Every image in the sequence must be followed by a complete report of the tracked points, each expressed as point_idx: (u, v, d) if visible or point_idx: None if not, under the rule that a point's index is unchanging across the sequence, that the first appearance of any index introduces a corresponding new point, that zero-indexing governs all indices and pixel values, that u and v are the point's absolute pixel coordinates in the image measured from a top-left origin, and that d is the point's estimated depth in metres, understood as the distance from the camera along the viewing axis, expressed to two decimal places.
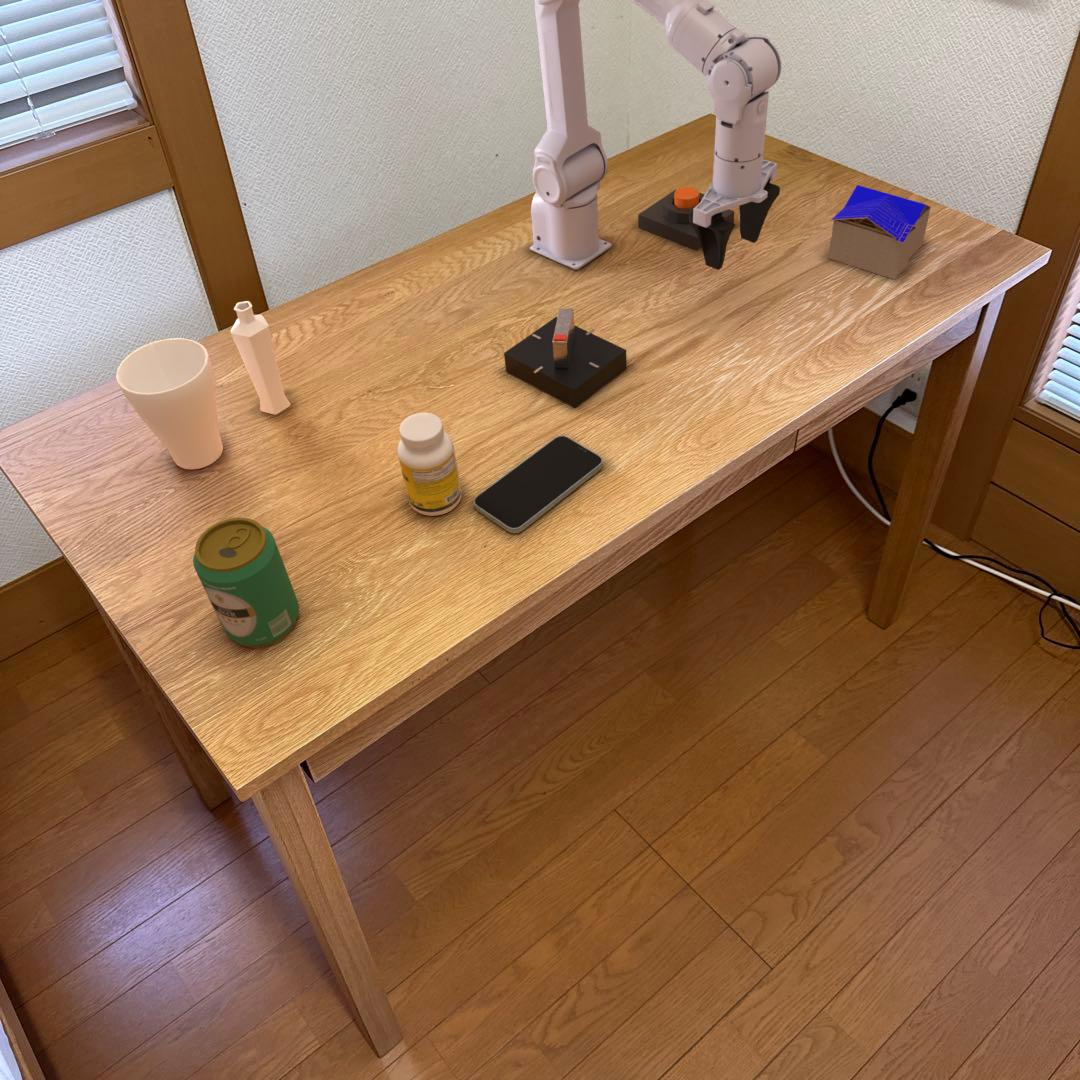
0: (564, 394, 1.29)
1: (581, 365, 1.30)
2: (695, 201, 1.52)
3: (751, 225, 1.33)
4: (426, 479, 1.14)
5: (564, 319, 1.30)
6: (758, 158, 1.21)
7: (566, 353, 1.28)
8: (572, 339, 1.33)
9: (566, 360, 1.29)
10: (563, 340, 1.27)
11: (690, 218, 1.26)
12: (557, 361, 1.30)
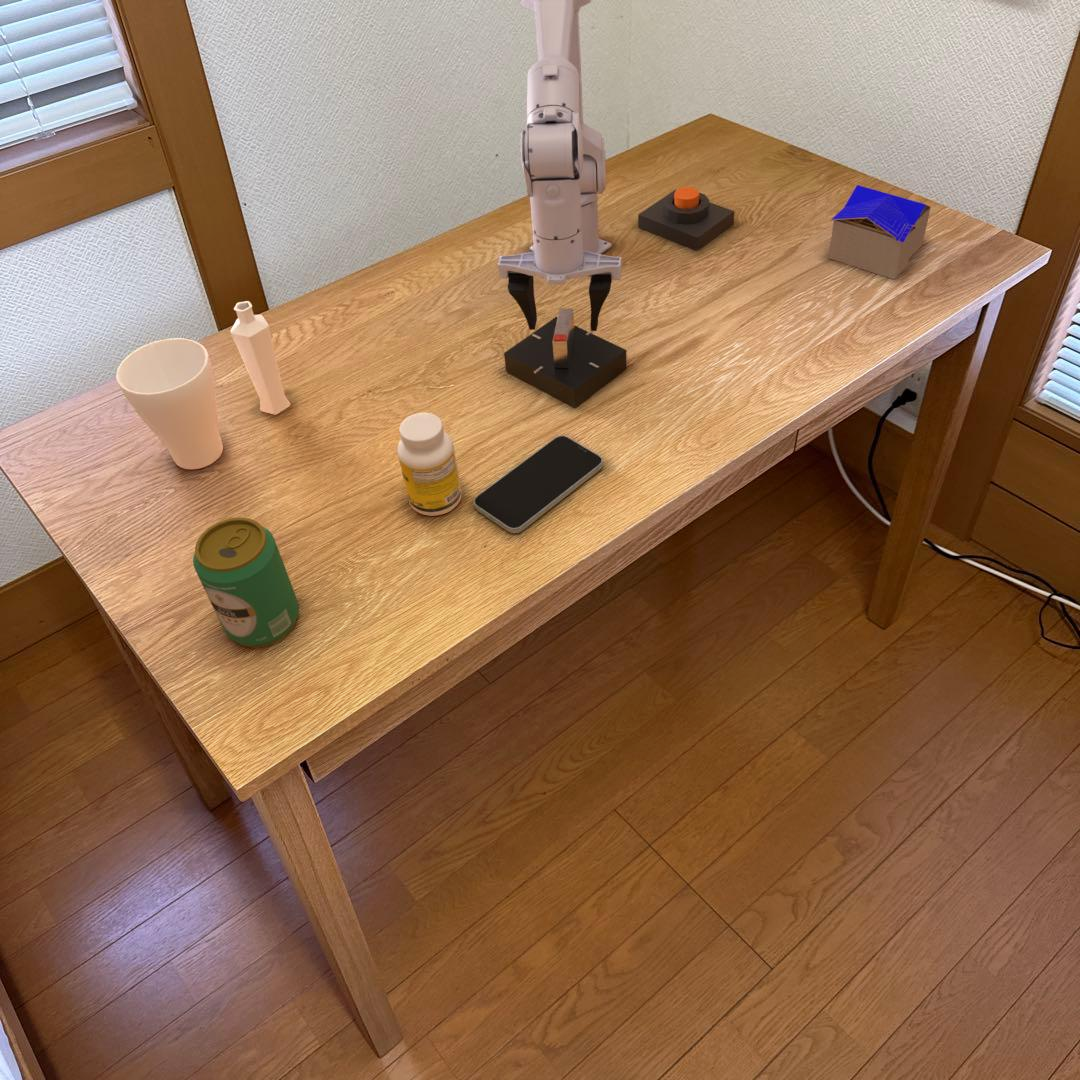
0: (564, 394, 1.29)
1: (581, 365, 1.30)
2: (695, 201, 1.52)
3: None
4: (426, 479, 1.14)
5: (564, 319, 1.30)
6: (553, 240, 1.18)
7: (566, 353, 1.28)
8: (572, 339, 1.33)
9: (566, 360, 1.29)
10: (563, 340, 1.27)
11: None
12: (557, 361, 1.30)
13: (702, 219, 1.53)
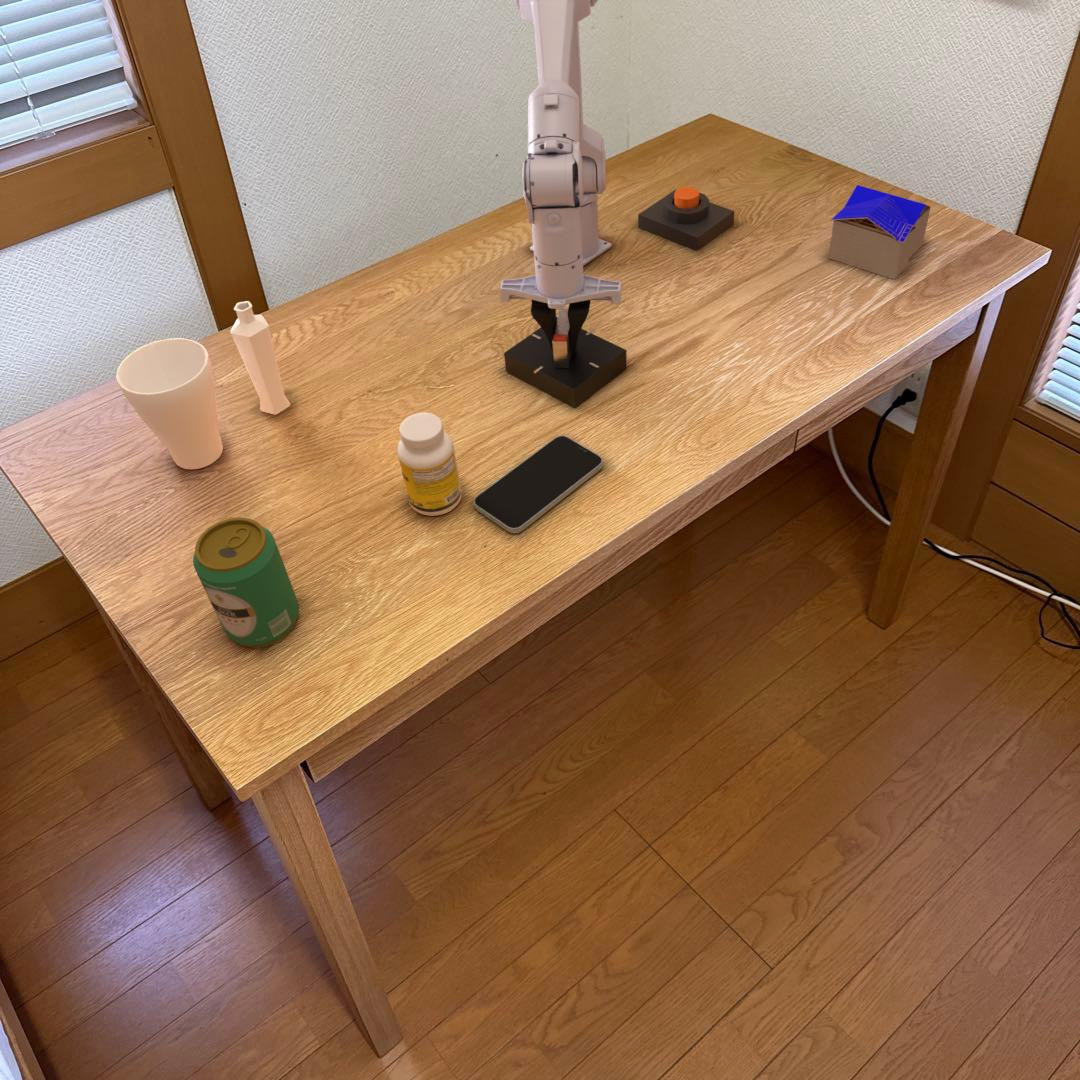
0: (564, 394, 1.29)
1: (581, 365, 1.30)
2: (695, 201, 1.52)
3: None
4: (426, 479, 1.14)
5: (564, 319, 1.30)
6: (554, 266, 1.20)
7: (566, 353, 1.28)
8: None
9: (566, 360, 1.29)
10: (563, 340, 1.27)
11: None
12: (557, 361, 1.30)
13: (702, 219, 1.53)
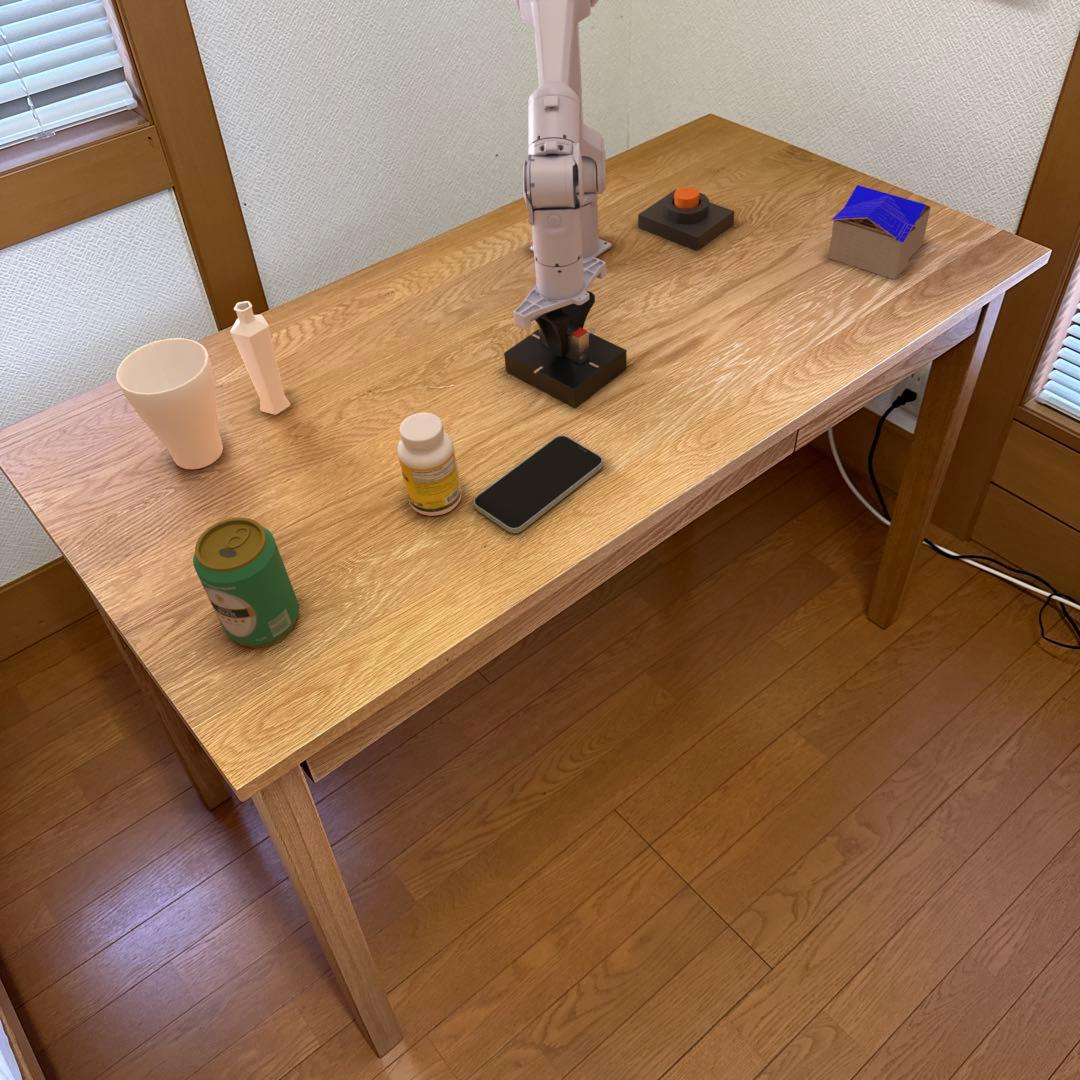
0: (564, 394, 1.29)
1: (581, 365, 1.30)
2: (695, 201, 1.52)
3: None
4: (426, 479, 1.14)
5: None
6: (575, 262, 1.21)
7: (588, 343, 1.30)
8: None
9: (588, 351, 1.30)
10: (584, 332, 1.28)
11: None
12: (582, 356, 1.30)
13: (702, 219, 1.53)
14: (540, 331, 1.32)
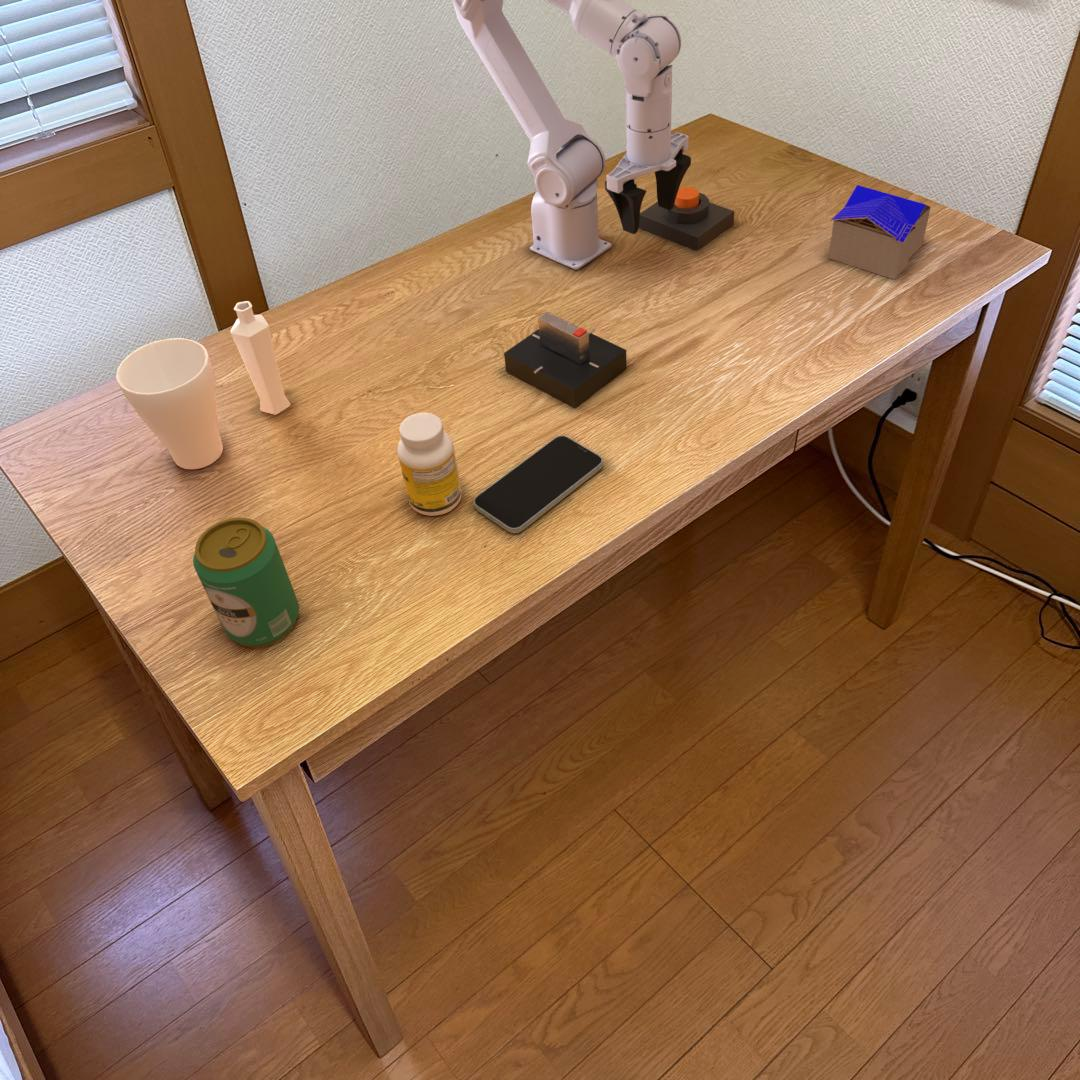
0: (564, 394, 1.29)
1: (581, 365, 1.30)
2: (695, 201, 1.52)
3: (667, 194, 1.43)
4: (426, 479, 1.14)
5: (556, 321, 1.30)
6: (665, 129, 1.32)
7: (588, 343, 1.30)
8: None
9: (588, 351, 1.30)
10: (584, 332, 1.28)
11: (605, 185, 1.36)
12: (582, 356, 1.30)
13: (702, 219, 1.53)
14: (540, 331, 1.32)
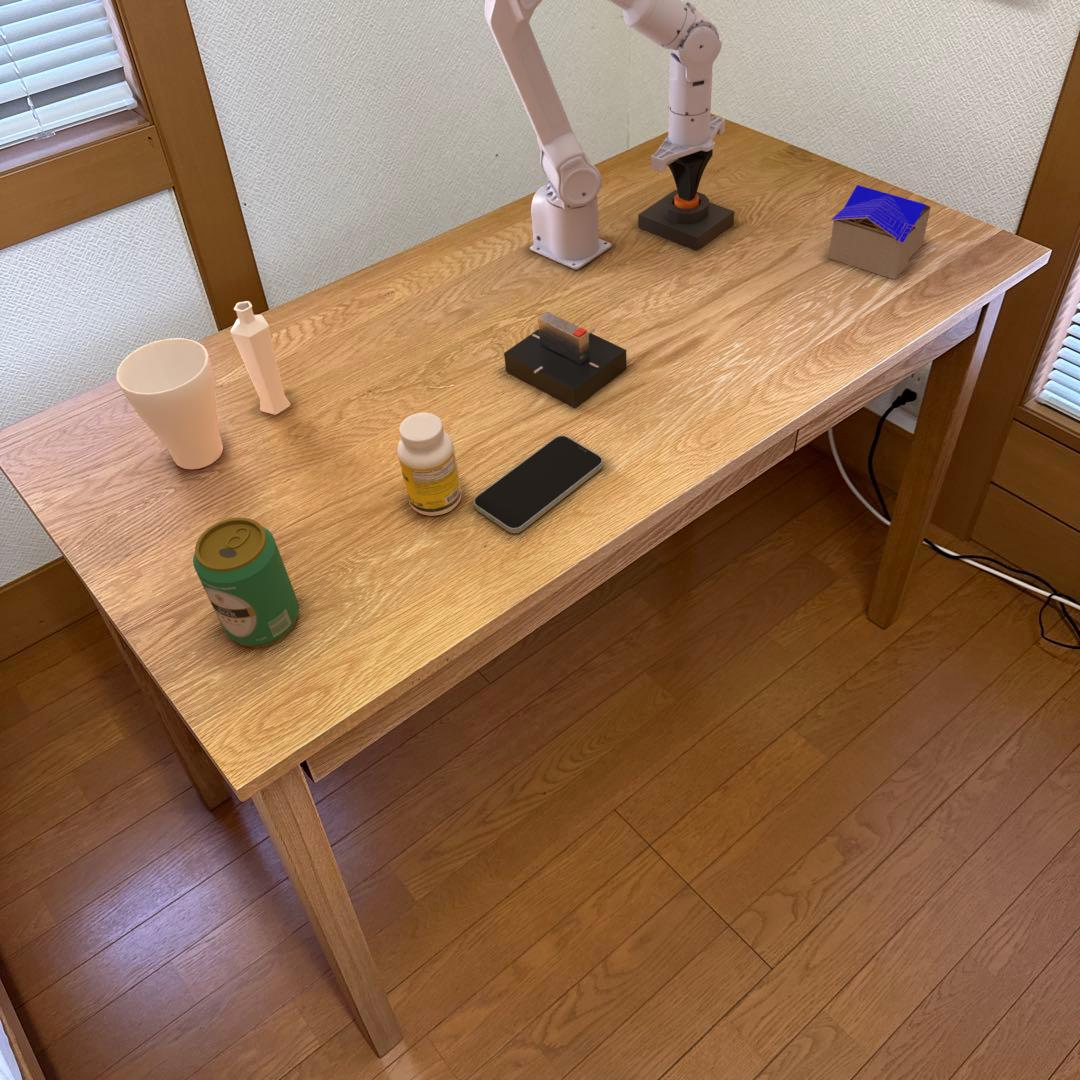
0: (564, 394, 1.29)
1: (581, 365, 1.30)
2: (695, 205, 1.53)
3: None
4: (426, 479, 1.14)
5: (556, 321, 1.30)
6: (706, 112, 1.42)
7: (588, 343, 1.30)
8: None
9: (588, 351, 1.30)
10: (584, 332, 1.28)
11: None
12: (582, 356, 1.30)
13: (702, 219, 1.53)
14: (540, 331, 1.32)
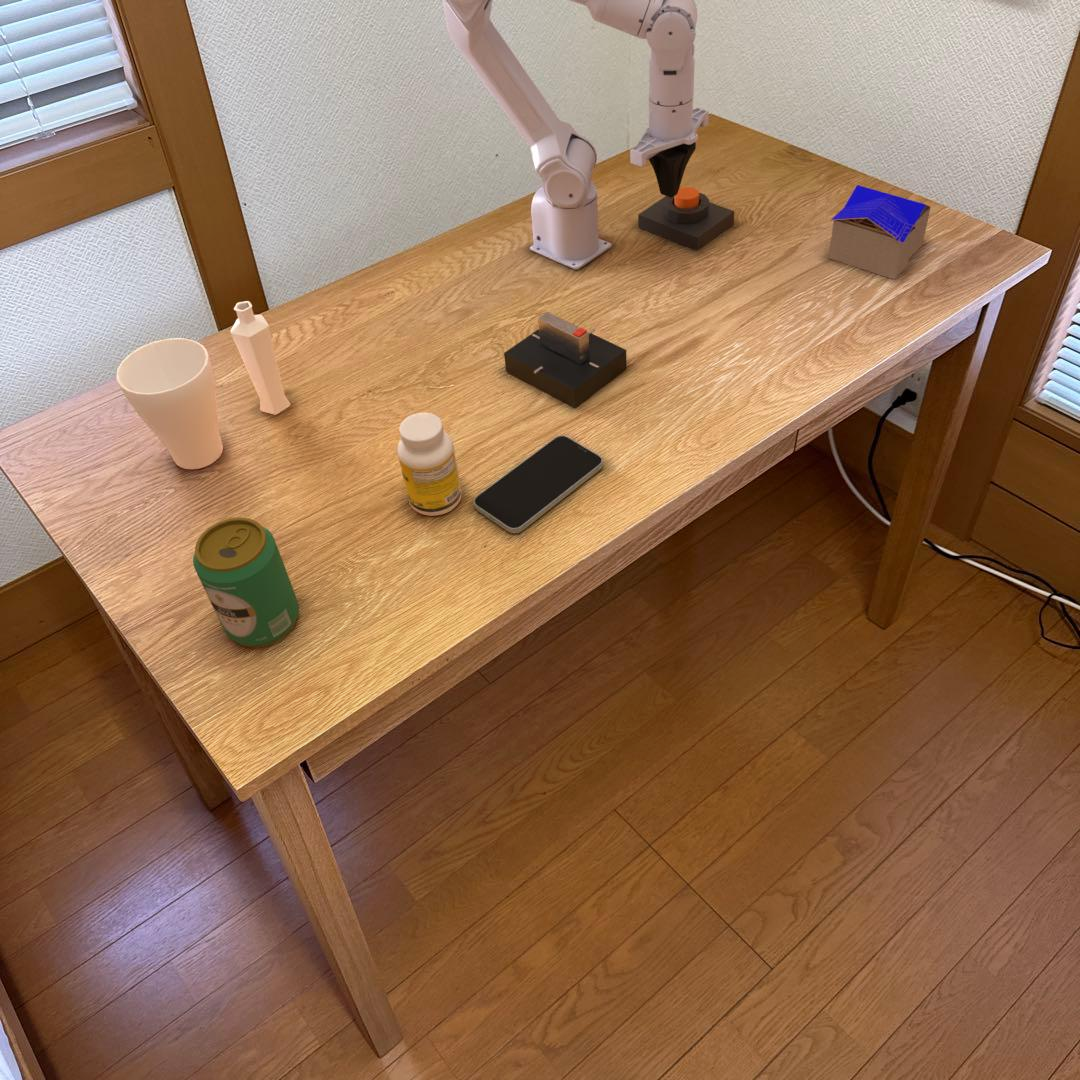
0: (564, 394, 1.29)
1: (581, 365, 1.30)
2: (695, 201, 1.52)
3: None
4: (426, 479, 1.14)
5: (556, 321, 1.30)
6: (688, 102, 1.34)
7: (588, 343, 1.30)
8: None
9: (588, 351, 1.30)
10: (584, 332, 1.28)
11: None
12: (582, 356, 1.30)
13: (702, 219, 1.53)
14: (540, 331, 1.32)
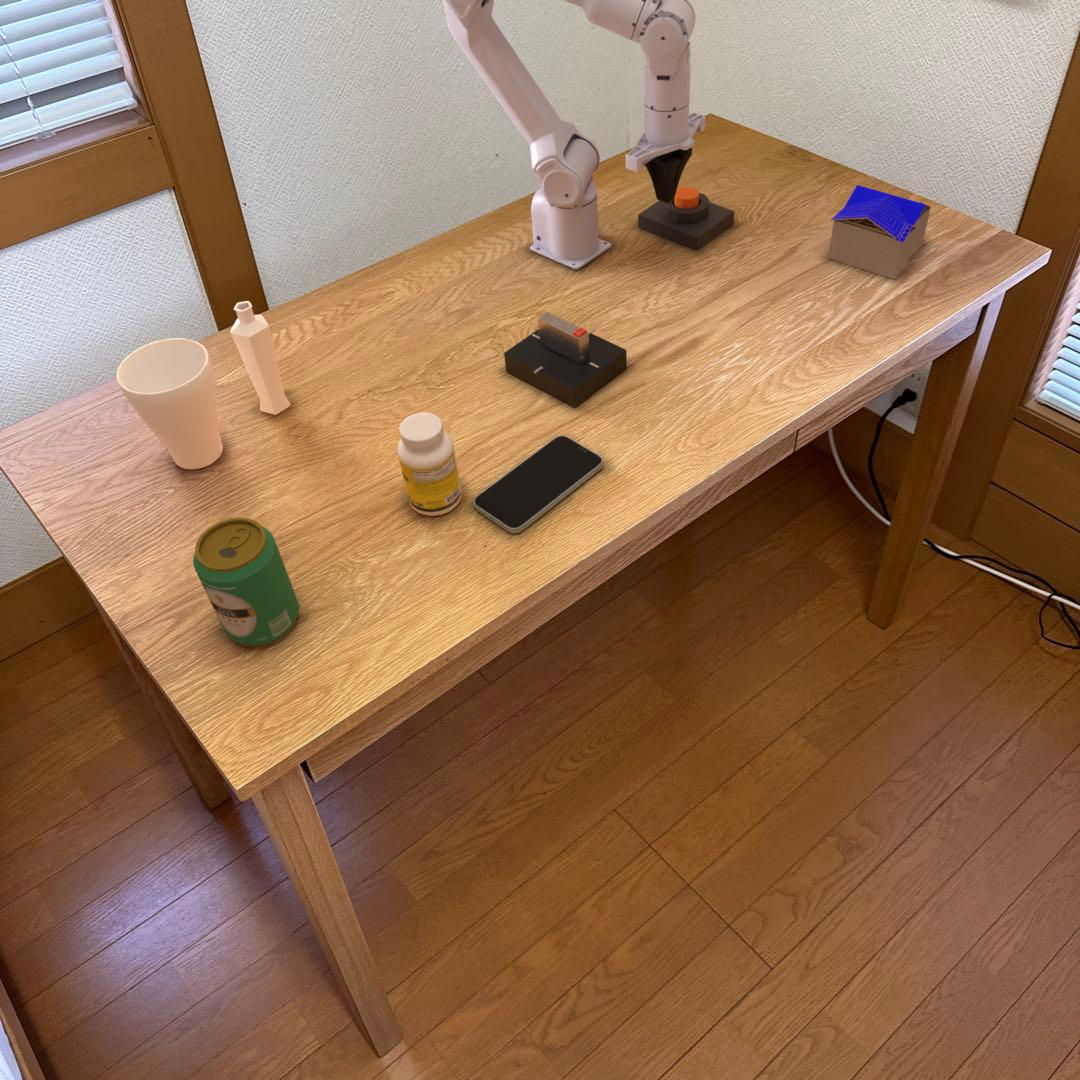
0: (564, 394, 1.29)
1: (581, 365, 1.30)
2: (695, 201, 1.52)
3: None
4: (426, 479, 1.14)
5: (556, 321, 1.30)
6: (684, 108, 1.33)
7: (588, 343, 1.30)
8: None
9: (588, 351, 1.30)
10: (584, 332, 1.28)
11: None
12: (582, 356, 1.30)
13: (702, 219, 1.53)
14: (540, 331, 1.32)
